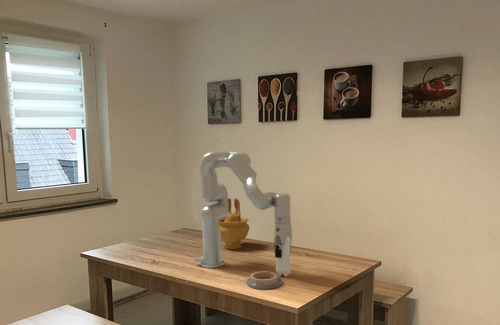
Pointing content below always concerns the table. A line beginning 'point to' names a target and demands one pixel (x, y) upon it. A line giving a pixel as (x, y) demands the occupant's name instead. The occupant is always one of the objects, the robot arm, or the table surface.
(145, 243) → the table surface
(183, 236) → the table surface
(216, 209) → the robot arm
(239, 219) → the decorative bowl
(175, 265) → the table surface
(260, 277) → the ring plate
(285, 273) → the water bottle
